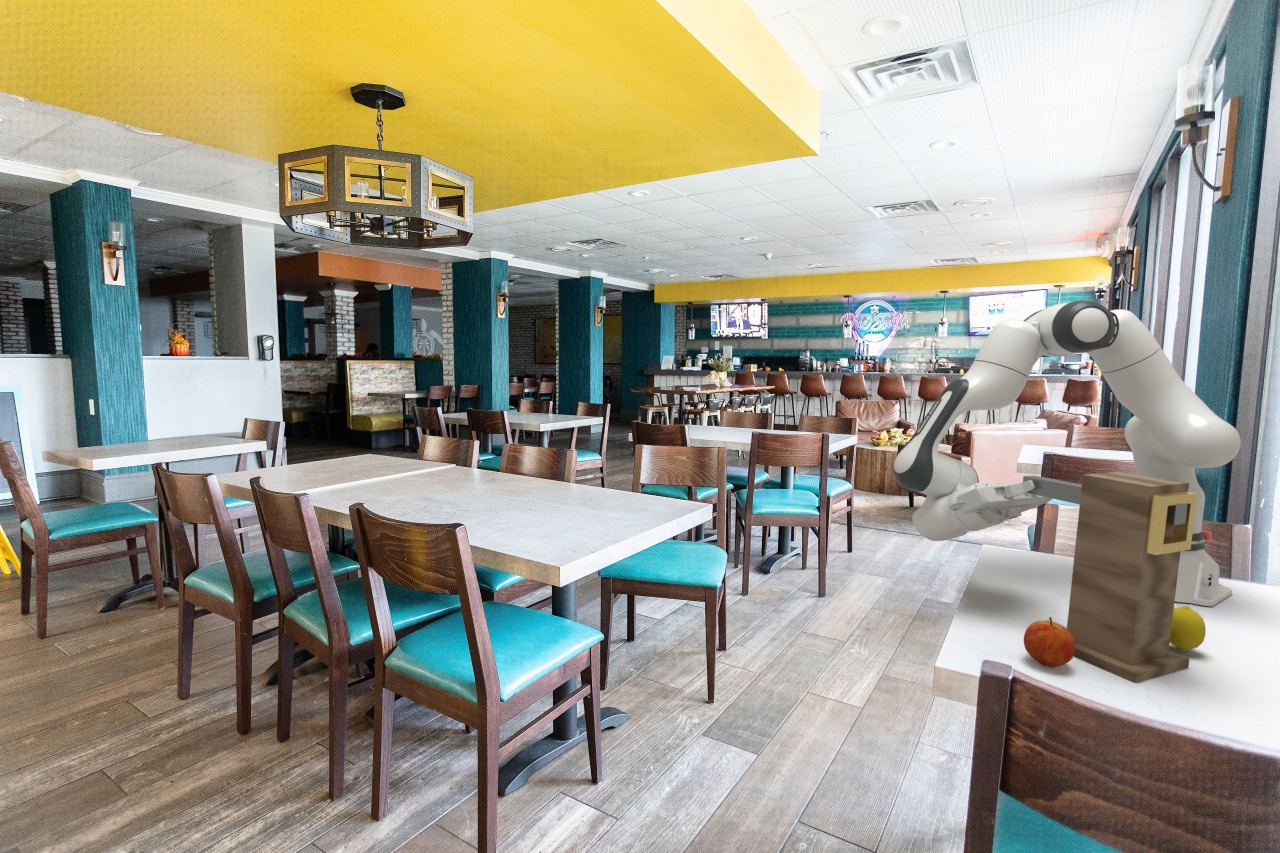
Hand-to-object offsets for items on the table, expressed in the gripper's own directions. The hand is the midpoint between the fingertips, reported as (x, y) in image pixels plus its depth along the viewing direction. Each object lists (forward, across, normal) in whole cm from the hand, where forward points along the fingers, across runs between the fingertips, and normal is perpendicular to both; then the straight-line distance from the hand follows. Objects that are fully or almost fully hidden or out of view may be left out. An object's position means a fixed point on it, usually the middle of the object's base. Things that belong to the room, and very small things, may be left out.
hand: (1042, 483), depth 117 cm
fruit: (-2, -14, +29) cm, 33 cm away
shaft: (+7, 0, +6) cm, 10 cm away
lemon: (+2, +13, +32) cm, 35 cm away
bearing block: (0, 0, +30) cm, 30 cm away
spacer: (+15, 0, +16) cm, 22 cm away
